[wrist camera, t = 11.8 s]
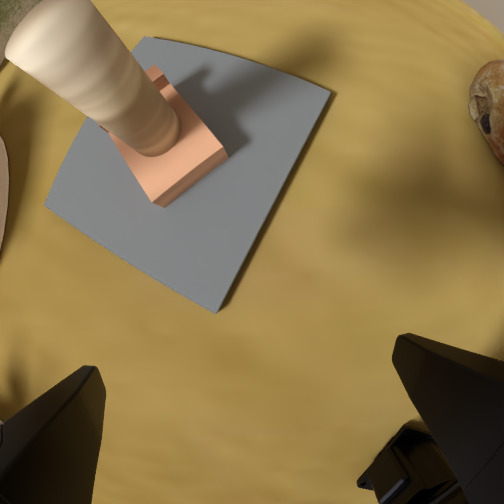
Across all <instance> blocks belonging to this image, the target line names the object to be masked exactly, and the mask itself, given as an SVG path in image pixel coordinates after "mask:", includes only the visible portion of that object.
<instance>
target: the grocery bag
mask: <svg viewBox="0 0 504 504" xmlns="http://www.w3.org/2000/svg"><path fill="white" fill-rule="evenodd" d="M41 1H42V0H0V65H1V63H2V62H3V60H4V58H5V49H6V46H7V43H8V41H9V39H10V37H11V35H12V33H13V32H14V30H15V29H16V27H17V26H18V25H19V23H20V22H21V21H22V20H23V18H24V17H25V16H26V15H27V14H28V13H29V12H30V11H31V10H32V9H33V8H34V7H35V6H36V5H37V4H39V3H40V2H41Z"/></svg>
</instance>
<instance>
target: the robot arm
mask: <svg viewBox="0 0 504 504" xmlns="http://www.w3.org/2000/svg"><path fill="white" fill-rule="evenodd" d="M392 362H393V365H394V367H395V369H396V371H397V373H398V375H399V377H400V379H401V381H402V383H403V385H404V387H405V389H406V391H407V394H408V395H409V397H410V399H411V401H412V403H413V404H414V406H415V408H416V409H417V411H418V412H419V414H420V416H421V417H422V419H423V421H424V422H425V424H426V426H427V427H428V429H429V431H430V432H427V431H424V430H420V429H417V428H414V427H411V426H404V427H402V428H401V429H400V431H399V432H398V433H397V434H396V436H395V437H394V438H393V440H392V441H391V442H390V443H389V445H388V446H387V447H386V448H385V450H384V451H383V452H382V453H381V454H380V456H379V457H378V458H377V459H376V460H375V461H374V463H373V464H372V465H371V466H370V467H369V468H368V469H367V470H366V472H365V473H364V474H363V475H362V476H361V477H360V478H359V479H358V480H357V486H358V487H359V488H363V489H368V490H373V491H374V492H375V495H376V498H377V501H378V503H379V504H504V361H501V360H499V361H498V360H497V359H494V358H490V357H487V356H483V355H480V354H477V353H473V352H470V351H467V350H463V349H460V348H457V347H453V346H450V345H447V344H444V343H440V342H437V341H434V340H431V339H427V338H424V337H421V336H418V335H415V334H412V333H406V334H402V335H399V336H398V337H397V339H396V342H395V346H394V350H393V354H392ZM105 400H106V389H105V386H104V383H103V380H102V378H101V375H100V372H99V370H98V368H97V367H96V366H87V365H84V366H82V367H81V368H79V369H78V370H76V371H75V372H73V373H72V374H71V375H69V376H68V377H66V378H65V379H64V380H62V381H61V382H59V383H58V384H57V385H55V386H54V387H52V388H51V389H49V390H48V391H47V392H45V393H44V394H42V395H41V396H40V397H38V398H37V399H35V400H34V401H33V402H31V403H30V404H28V405H27V406H26V407H24V408H23V409H21V410H20V411H19V412H17V413H16V414H14V415H13V416H11V417H10V418H9V419H7V420H6V421H4V422H3V424H0V504H91V502H92V494H93V487H94V481H95V474H96V468H97V462H98V457H99V451H100V446H101V440H102V432H103V420H104V410H105ZM406 431H407V432H406ZM405 432H406V433H405ZM404 433H405V434H404ZM362 482H364V483H362Z"/></svg>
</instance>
